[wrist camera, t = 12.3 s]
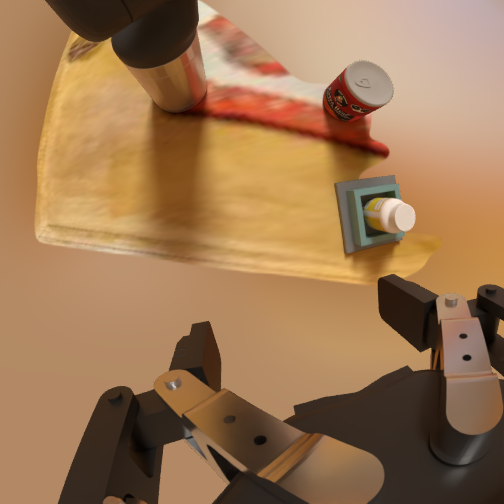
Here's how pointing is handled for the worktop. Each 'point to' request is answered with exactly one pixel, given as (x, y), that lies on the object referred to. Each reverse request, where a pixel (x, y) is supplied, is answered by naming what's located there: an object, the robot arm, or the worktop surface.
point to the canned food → (358, 91)
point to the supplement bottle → (388, 215)
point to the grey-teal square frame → (351, 213)
